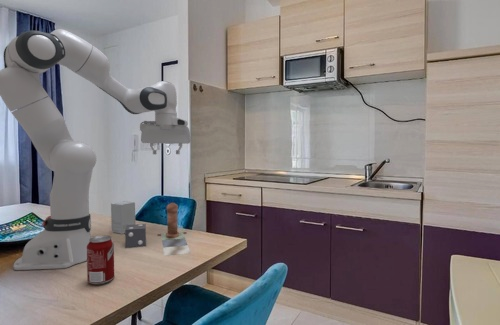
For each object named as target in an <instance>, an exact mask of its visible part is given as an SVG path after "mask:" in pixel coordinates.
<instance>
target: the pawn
mask: <svg viewBox="0 0 500 325" xmlns="http://www.w3.org/2000/svg"><path fill="white" fill-rule="evenodd" d="M178 210H179V206H178V204H176V203H175V202H170V203H169V204H167V205H166V212H167V218H166V219H167V223H166V224H167V232H166V233H165V234H166V237H167V238H176V237H179V233H180V231H179V230H178Z"/></svg>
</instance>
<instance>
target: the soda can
mask: <svg viewBox="0 0 500 325" xmlns="http://www.w3.org/2000/svg"><path fill="white" fill-rule="evenodd" d="M89 241H90V242H89V243H88V245H87V260H86V272H87V273H86V275H87V277H86V279H87V283H89V284H91V285H96V286H99V285H104V284H107V283H109V282H110V281H112V280H113V279H114V278H115V243H114V241H113V240H112V236H110V235H98V236H93V237H92V236H91V238H90V239H89Z"/></svg>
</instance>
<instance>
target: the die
mask: <svg viewBox="0 0 500 325" xmlns="http://www.w3.org/2000/svg"><path fill="white" fill-rule="evenodd" d="M124 234H125V240H124V241H125V249H128V248H129V249H131V248H140V247H141V248H142V247H143V248H144V247H146V246H147V225H146V223H139V224H137V223H135V225H126V229H125V233H124Z"/></svg>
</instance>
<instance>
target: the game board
mask: <svg viewBox="0 0 500 325" xmlns="http://www.w3.org/2000/svg"><path fill="white" fill-rule="evenodd" d="M186 234H187V232H186V231H183V232H182V231H181V232H180V231H179V237H176V238H167V237H166V233H160V234H159V233H157V235H156V236H157V237H160V238H161V243H162V250H163V257H166V256H167V257H168V256H175V255H186V254H192V253H191V250H190V248H189V245H188V242H187V239H186V237H185V235H186Z"/></svg>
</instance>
